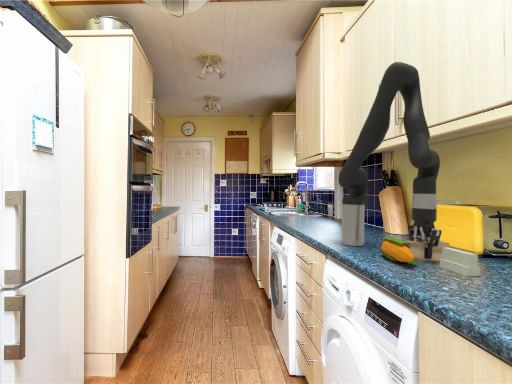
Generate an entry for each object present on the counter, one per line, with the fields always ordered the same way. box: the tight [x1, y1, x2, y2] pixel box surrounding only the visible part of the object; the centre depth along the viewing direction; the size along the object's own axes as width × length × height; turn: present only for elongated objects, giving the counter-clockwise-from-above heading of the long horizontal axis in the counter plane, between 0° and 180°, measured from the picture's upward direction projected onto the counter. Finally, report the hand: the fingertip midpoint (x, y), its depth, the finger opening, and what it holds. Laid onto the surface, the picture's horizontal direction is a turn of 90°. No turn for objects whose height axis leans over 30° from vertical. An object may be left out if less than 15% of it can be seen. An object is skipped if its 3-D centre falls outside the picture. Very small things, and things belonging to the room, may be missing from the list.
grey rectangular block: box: [439, 246, 481, 277], centre depth 87 cm, size 10×4×6 cm, turn 9°
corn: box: [381, 237, 418, 265], centre depth 98 cm, size 7×8×20 cm
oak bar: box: [402, 240, 450, 262], centre depth 102 cm, size 4×14×6 cm, turn 96°
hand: (423, 256), depth 102 cm, fingers closed on oak bar, 4 cm apart
